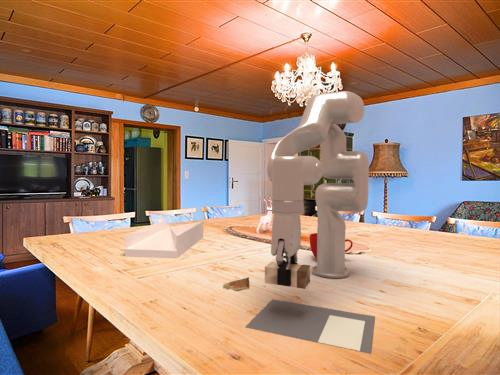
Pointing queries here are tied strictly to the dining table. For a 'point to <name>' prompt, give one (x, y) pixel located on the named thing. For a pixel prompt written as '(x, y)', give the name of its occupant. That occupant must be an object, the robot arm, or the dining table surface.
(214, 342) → the dining table surface
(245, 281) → the shard
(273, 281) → the tan tapered block
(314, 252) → the ceramic cup
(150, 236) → the hipped roof block
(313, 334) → the mat
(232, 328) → the dining table surface
